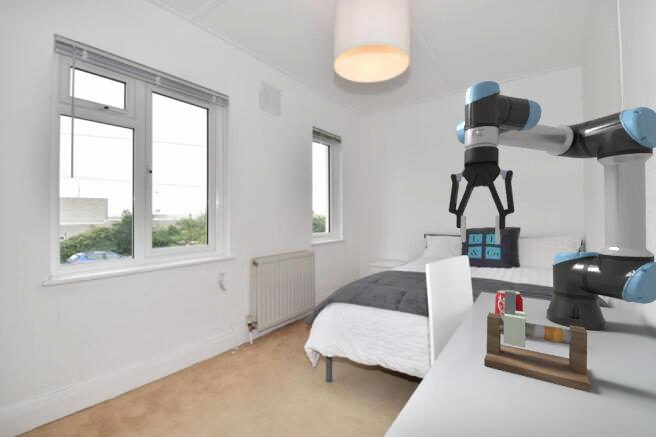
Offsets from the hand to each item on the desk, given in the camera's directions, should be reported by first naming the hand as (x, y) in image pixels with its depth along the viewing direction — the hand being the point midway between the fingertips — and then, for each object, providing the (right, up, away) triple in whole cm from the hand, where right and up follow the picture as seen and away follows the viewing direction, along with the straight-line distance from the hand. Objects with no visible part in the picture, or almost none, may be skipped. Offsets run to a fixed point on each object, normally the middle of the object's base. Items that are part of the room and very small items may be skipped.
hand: (479, 242), depth 75 cm
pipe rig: (+9, -27, -6) cm, 29 cm away
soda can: (+16, -28, +15) cm, 35 cm away
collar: (+6, -22, -4) cm, 23 cm away
